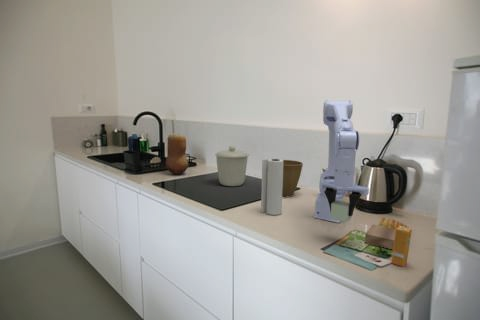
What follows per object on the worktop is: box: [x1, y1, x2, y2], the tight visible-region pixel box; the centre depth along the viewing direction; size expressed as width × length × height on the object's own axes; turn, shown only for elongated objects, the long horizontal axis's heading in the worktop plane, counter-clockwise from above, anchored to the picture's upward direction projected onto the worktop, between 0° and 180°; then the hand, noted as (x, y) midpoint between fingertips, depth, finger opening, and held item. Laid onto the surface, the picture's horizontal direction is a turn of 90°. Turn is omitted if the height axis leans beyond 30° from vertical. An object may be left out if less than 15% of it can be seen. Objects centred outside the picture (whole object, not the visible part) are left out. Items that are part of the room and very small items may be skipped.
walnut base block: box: [364, 224, 396, 251], centre depth 99 cm, size 10×10×3 cm
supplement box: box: [390, 226, 412, 268], centre depth 84 cm, size 3×3×10 cm
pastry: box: [378, 217, 410, 229], centre depth 109 cm, size 9×7×4 cm
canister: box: [214, 145, 250, 187], centre depth 169 cm, size 18×18×21 cm
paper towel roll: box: [260, 158, 284, 216], centre depth 123 cm, size 7×6×21 cm
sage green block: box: [331, 200, 353, 223], centre depth 98 cm, size 5×5×5 cm
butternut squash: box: [165, 133, 189, 176], centre depth 193 cm, size 14×13×25 cm
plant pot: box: [282, 159, 304, 197], centre depth 150 cm, size 15×15×16 cm
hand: (341, 213), depth 98 cm, fingers closed on sage green block, 5 cm apart
